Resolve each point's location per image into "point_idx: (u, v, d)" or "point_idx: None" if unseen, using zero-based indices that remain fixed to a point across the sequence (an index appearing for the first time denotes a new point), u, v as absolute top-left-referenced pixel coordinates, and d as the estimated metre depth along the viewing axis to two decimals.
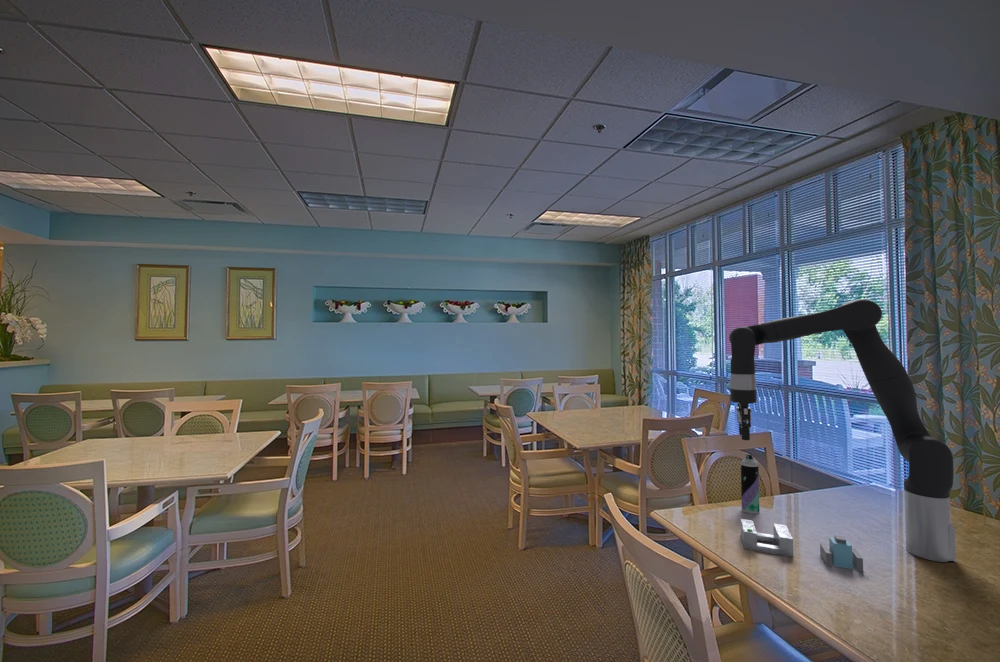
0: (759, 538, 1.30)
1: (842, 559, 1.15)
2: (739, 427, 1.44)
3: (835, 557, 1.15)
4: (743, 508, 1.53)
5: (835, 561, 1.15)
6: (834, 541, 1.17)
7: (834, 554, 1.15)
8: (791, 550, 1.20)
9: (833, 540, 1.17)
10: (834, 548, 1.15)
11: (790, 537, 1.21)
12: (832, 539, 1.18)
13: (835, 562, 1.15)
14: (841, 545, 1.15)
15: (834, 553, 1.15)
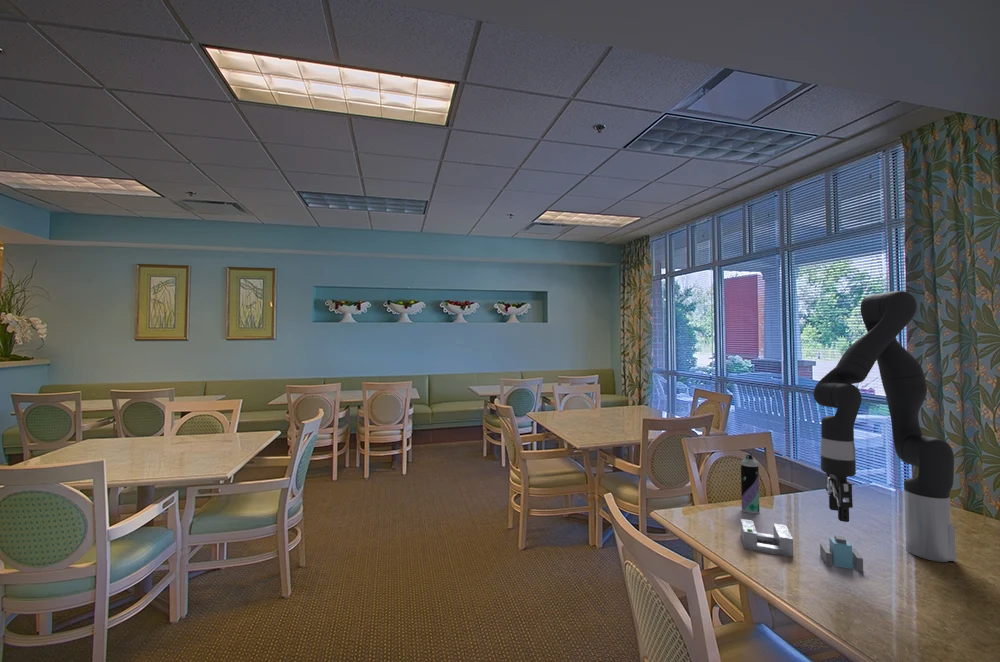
0: (759, 538, 1.30)
1: (842, 559, 1.15)
2: (830, 500, 1.21)
3: (835, 557, 1.15)
4: (743, 508, 1.53)
5: (835, 561, 1.15)
6: (834, 541, 1.17)
7: (834, 554, 1.15)
8: (791, 550, 1.20)
9: (833, 540, 1.17)
10: (834, 548, 1.15)
11: (790, 537, 1.21)
12: (832, 539, 1.18)
13: (835, 562, 1.15)
14: (841, 545, 1.15)
15: (834, 553, 1.15)
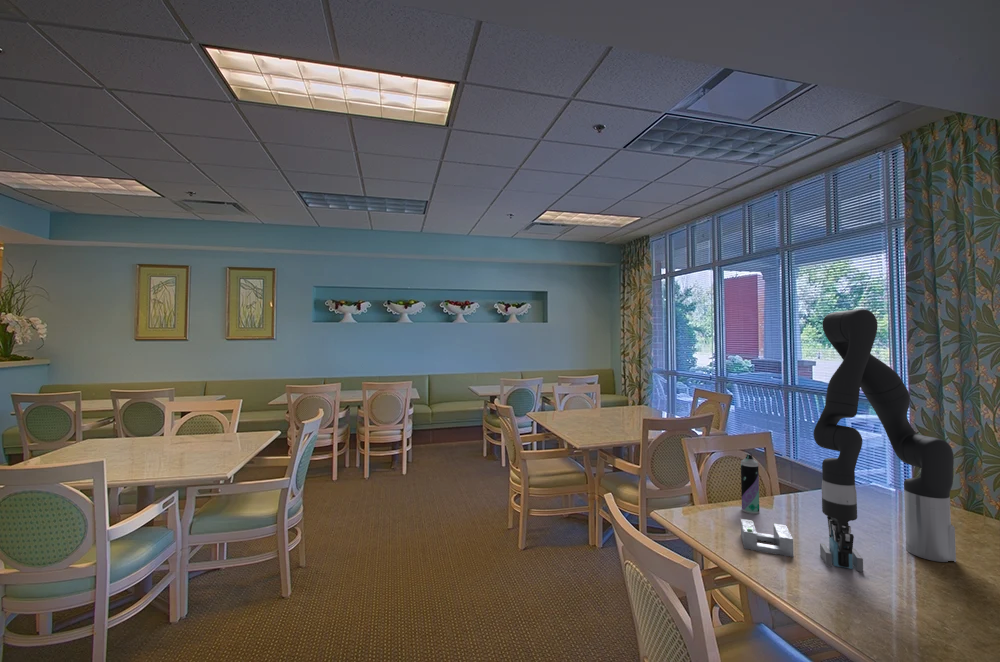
0: (759, 538, 1.30)
1: None
2: None
3: (835, 557, 1.15)
4: (743, 508, 1.53)
5: (835, 561, 1.15)
6: (834, 541, 1.17)
7: (834, 554, 1.15)
8: (791, 550, 1.20)
9: (833, 540, 1.17)
10: (834, 548, 1.15)
11: (790, 537, 1.21)
12: (832, 539, 1.18)
13: (835, 562, 1.15)
14: None
15: (834, 553, 1.15)
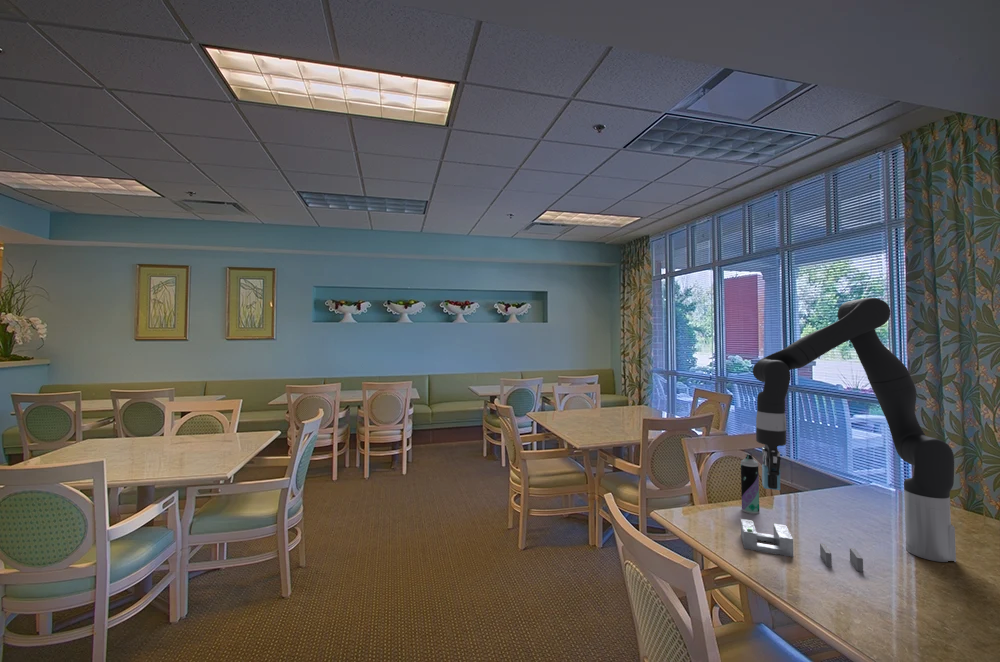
0: (759, 538, 1.30)
1: None
2: None
3: (765, 480, 1.25)
4: (743, 508, 1.53)
5: (765, 484, 1.25)
6: (765, 466, 1.26)
7: (764, 477, 1.25)
8: (791, 550, 1.20)
9: (765, 466, 1.27)
10: (765, 472, 1.25)
11: (790, 537, 1.21)
12: (764, 465, 1.27)
13: (765, 485, 1.25)
14: (771, 469, 1.24)
15: (764, 477, 1.25)
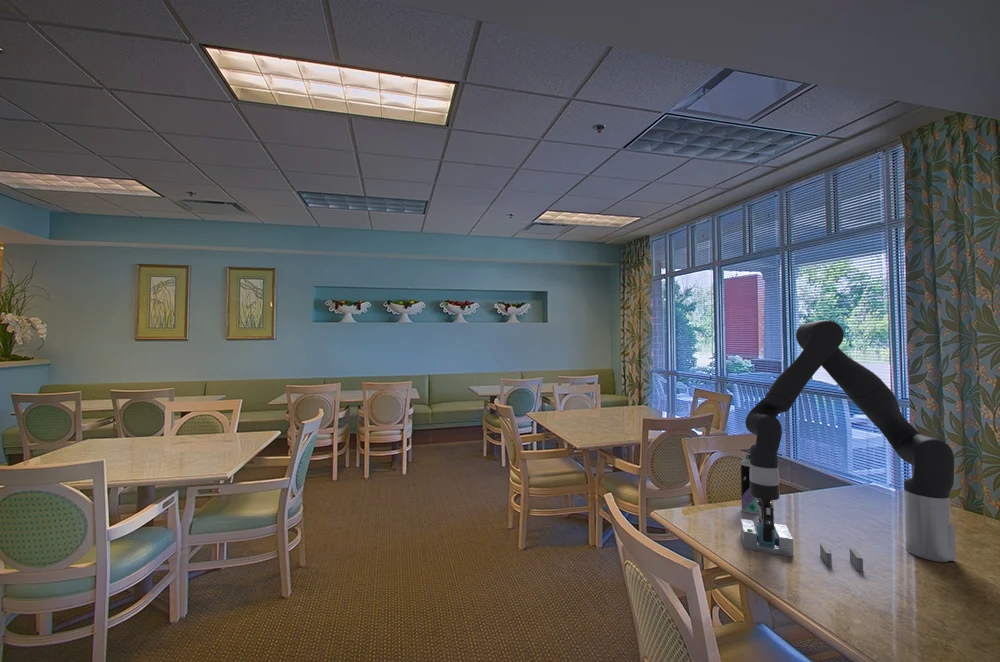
0: None
1: None
2: (759, 521, 1.31)
3: (760, 539, 1.26)
4: (743, 508, 1.53)
5: None
6: (760, 525, 1.27)
7: (759, 537, 1.26)
8: (791, 550, 1.20)
9: (759, 524, 1.28)
10: (759, 531, 1.26)
11: (790, 537, 1.21)
12: (758, 523, 1.28)
13: None
14: None
15: (759, 536, 1.26)
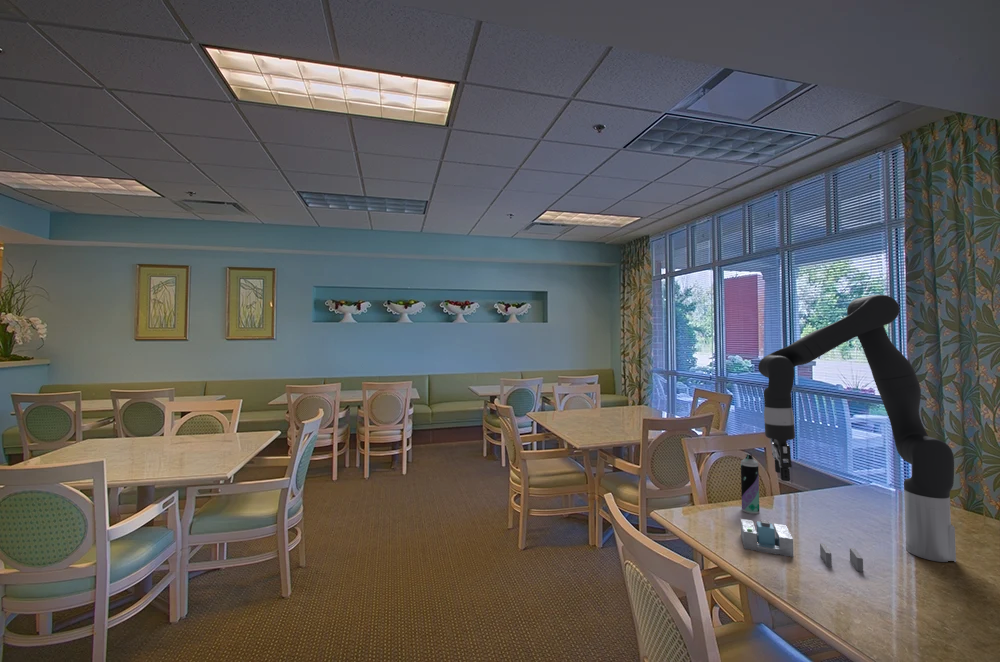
0: None
1: (766, 541, 1.25)
2: (775, 464, 1.32)
3: (760, 539, 1.26)
4: (743, 508, 1.53)
5: None
6: (760, 525, 1.27)
7: (759, 537, 1.26)
8: (791, 550, 1.20)
9: (759, 524, 1.28)
10: (759, 531, 1.26)
11: (790, 537, 1.21)
12: (758, 523, 1.28)
13: None
14: (765, 528, 1.25)
15: (759, 536, 1.26)
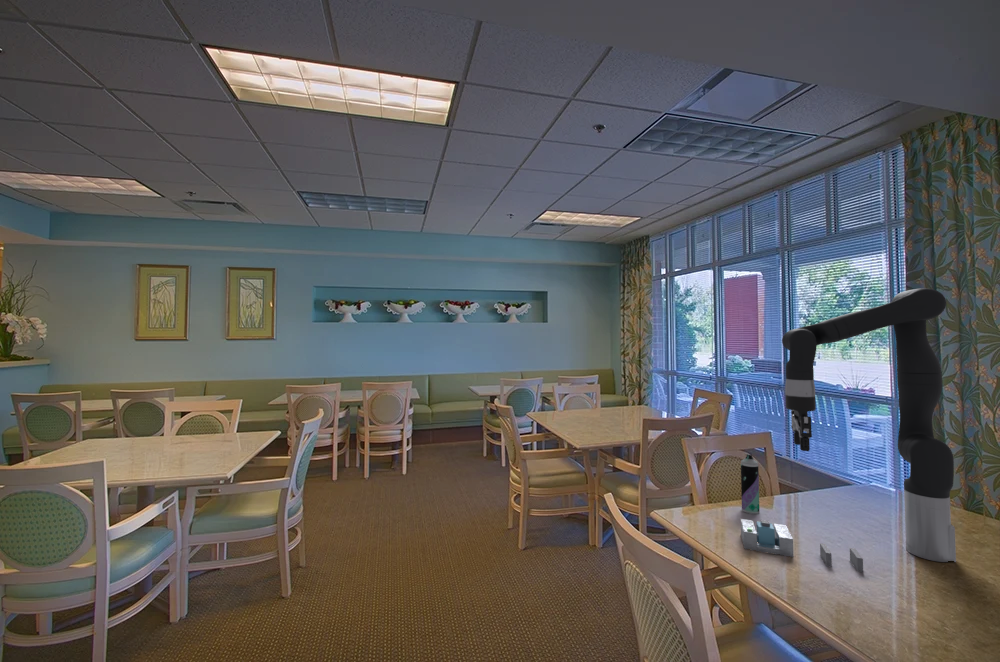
0: None
1: (766, 541, 1.25)
2: (794, 436, 1.35)
3: (760, 539, 1.26)
4: (743, 508, 1.53)
5: None
6: (760, 525, 1.27)
7: (759, 537, 1.26)
8: (791, 550, 1.20)
9: (759, 524, 1.28)
10: (759, 531, 1.26)
11: (790, 537, 1.21)
12: (758, 523, 1.28)
13: None
14: (765, 528, 1.25)
15: (759, 536, 1.26)
